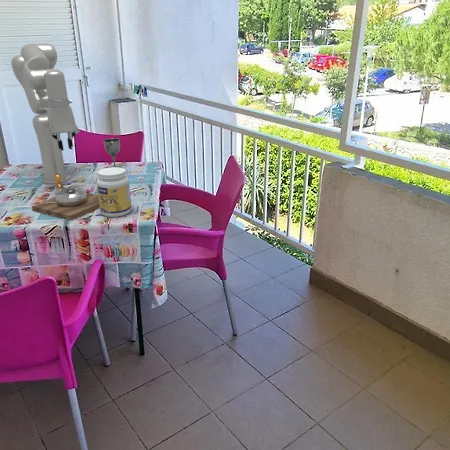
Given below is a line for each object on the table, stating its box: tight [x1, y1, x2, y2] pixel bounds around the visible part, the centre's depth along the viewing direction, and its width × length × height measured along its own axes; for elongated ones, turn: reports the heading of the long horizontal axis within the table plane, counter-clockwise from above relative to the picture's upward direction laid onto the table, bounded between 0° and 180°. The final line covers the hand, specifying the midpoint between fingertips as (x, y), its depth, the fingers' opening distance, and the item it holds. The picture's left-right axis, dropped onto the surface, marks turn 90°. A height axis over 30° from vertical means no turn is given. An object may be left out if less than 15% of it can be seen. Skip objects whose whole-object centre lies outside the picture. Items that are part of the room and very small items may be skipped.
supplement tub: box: [96, 166, 133, 218], centre depth 169 cm, size 12×12×17 cm
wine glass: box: [103, 137, 122, 168], centre depth 224 cm, size 8×8×15 cm
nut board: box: [31, 192, 100, 221], centre depth 178 cm, size 22×22×2 cm
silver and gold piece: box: [54, 174, 87, 207], centre depth 178 cm, size 20×12×8 cm, turn 41°
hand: (66, 148), depth 180 cm, fingers open, 2 cm apart
